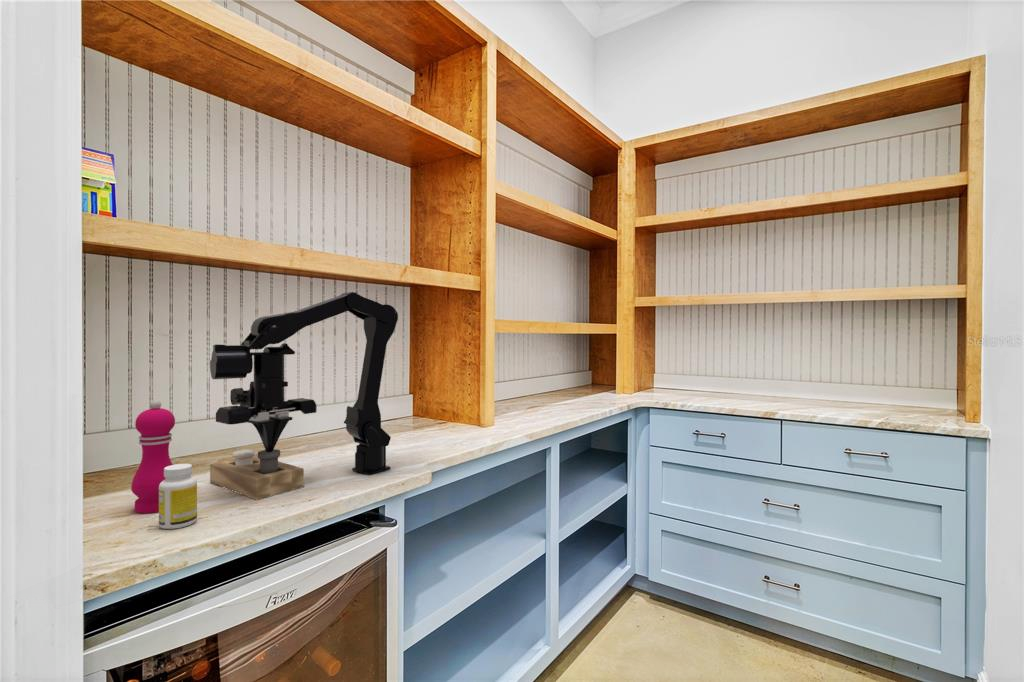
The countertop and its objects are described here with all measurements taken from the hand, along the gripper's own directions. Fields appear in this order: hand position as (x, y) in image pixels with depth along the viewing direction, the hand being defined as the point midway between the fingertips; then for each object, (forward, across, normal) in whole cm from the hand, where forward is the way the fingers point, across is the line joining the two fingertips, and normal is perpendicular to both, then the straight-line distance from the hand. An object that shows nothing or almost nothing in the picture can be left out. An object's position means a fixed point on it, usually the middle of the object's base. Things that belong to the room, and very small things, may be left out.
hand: (269, 451), depth 103 cm
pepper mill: (+8, +18, -6) cm, 21 cm away
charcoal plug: (+6, 0, 0) cm, 6 cm away
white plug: (+7, 0, -10) cm, 12 cm away
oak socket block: (+8, 0, -5) cm, 9 cm away
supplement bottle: (+8, +19, +6) cm, 21 cm away
